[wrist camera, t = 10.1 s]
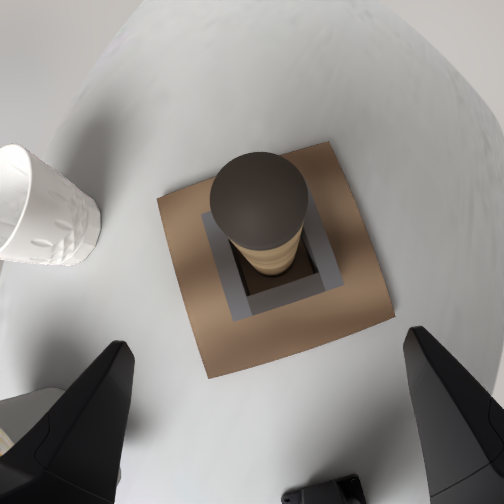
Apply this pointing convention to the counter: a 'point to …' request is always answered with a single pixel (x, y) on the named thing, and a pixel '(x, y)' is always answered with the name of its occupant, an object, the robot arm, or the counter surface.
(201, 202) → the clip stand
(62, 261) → the white cup
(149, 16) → the counter surface
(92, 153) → the counter surface
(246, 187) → the wooden peg
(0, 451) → the coffee mug
